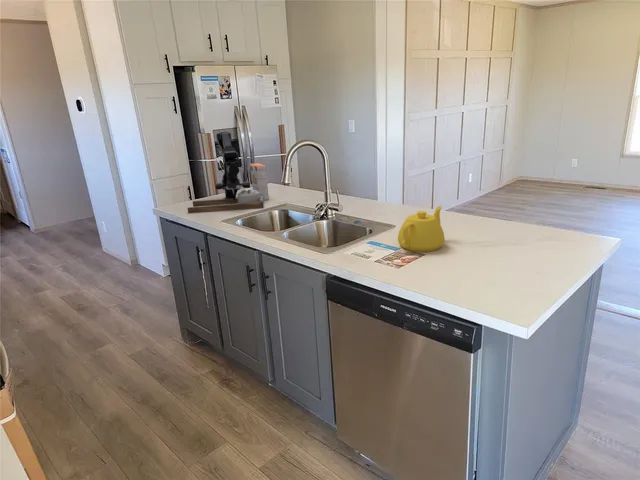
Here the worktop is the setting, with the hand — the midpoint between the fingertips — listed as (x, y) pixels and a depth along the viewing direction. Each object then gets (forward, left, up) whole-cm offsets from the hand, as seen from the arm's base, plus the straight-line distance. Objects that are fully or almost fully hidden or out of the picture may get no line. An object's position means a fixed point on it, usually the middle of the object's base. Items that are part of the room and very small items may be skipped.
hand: (234, 200), depth 245 cm
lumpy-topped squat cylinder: (0, +8, -4) cm, 9 cm away
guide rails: (0, -5, -4) cm, 6 cm away
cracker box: (-17, +14, -4) cm, 22 cm away
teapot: (+88, +80, -4) cm, 119 cm away
